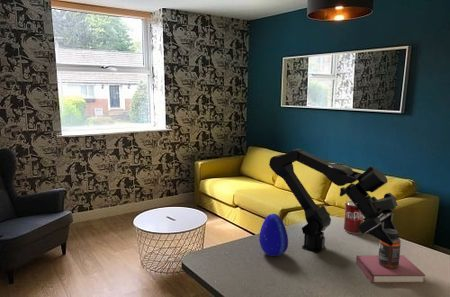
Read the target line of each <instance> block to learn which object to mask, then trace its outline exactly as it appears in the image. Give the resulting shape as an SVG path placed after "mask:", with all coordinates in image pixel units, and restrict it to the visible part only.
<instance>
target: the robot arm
mask: <svg viewBox="0 0 450 297" xmlns="http://www.w3.org/2000/svg"><path fill="white" fill-rule="evenodd" d="M295 162H298V163H300V164H301V165H305V166H306V167H308V168H311V170H314V171H317V172H318V173H321V174H322V175H324V176H325V177H326V178H327V179H328V181H329V182H331V183H332V184H334V185H336V186H337V187H341V188H340V189H339V191H340V192H339V197H343V196H345V195H346V196H347V197H348V198H349V199H350V200H349V201H352V202H353V203H354V205H355V206H356V207H357V208H355V210H356V211H358V210H359V211H360V212H361V214H362V215H363V222H362V223H360V224H359V225H358V230H359V231H360V233H359V234H361V235H363V234H367V235H369V236H371V237H374V238H376V239H378V240H379V241H380V240H381V241H383V242H385V243H386V244H388V245H390V246H391V245H393V242H392V240H391V239H390V237H389V235H388V234H387V232H386V231H385V229H393V230H396V231H397V232H398V230H397V228H396V226H395V224H394V220H393V219H394V218H393V217H394V215H395V214H394V211H395V210H396V207H398V206H399V205H398V202H397V200H398V198H397V197H396V196H395V195H393V194H392V193H391V192H387V193H385V194H383V197H382V198H376V196H374V195H370V194H369V193H374V192H376V191H377V190H379V188H381V187H383V186H385V185H386V184H387V183H388V178H387V176H386V175H385V173H384V172H383V171H381V170H379V169H378V168H376V167H375V166H374V165H370V166H369V167H368V168H367V169H366V170H365V171H363V172H362V173H361V172H359V171H354V170H353V169H352V168H351V167H350V166H346V165H342V164H337V163H331V162H329V161H326V160H324V159H322V158H320V157H318V156H316V155H314V154H312V153H309V152H307V151H304V149H303V148H302V149H301V148H297V149H293V150H291V151H289V152H286V153H283V154H278V155H273V156H272V157H270V159H269V163H268V166H269V168H270V169H271V170H272V172H274V174H276V175H277V176H278V177H280V178H281V179H283V181H284V183H285V184H286V185H287V187H288V188H289V190H290V191H291V193H292V194H293V196H294V197H295V199H296V200H297V202H298V204H299V205H300V206H301V208H302V210H303V211H304V216H305V217H304V218H305V221H306V224H305V225H304V226H303V227H302V228H301V230H302V231H301V232H302V234H304V236H303V237H304V240H303V245H302V246H301V248H302V249H304V250H308V251H311V252H314V253H320V252H321V251H322V250H324V248H326V245H325V243H326V238H325V237H326V236H325V233H324V231H325V230H326V229H327V228H329V227H330V225H331V221H332V218H331V216H330V215H331V214H330V212H328V210H327V208H326V207H325V206H324V205H321V206H319V205H318V204H316V202H315V201H314V199H313V198H312V196H311V195H310V194H309V192H308V191H307V188H306V187H305V186H304V185H303V183H302V182H301V181H300V179H299V177H298V175H297V174H296V173H295V170H294V165H293V163H295ZM355 182H357V183H355ZM348 184H349V185H348ZM345 185H347V186H346V187H345ZM356 203H357V204H356ZM397 237H398V238H399V239H400V235H399V233H398V236H397Z"/></svg>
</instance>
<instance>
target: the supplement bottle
mask: <svg viewBox="0 0 450 297" xmlns="http://www.w3.org/2000/svg"><path fill="white" fill-rule="evenodd" d="M396 230H397V229H396ZM396 230H393V229H385V231H386V232H387V234H388V235H389V237H390V239H391V240H392V242H393V245H391V246H390V245H388V244H386V243H385V242H383V241H381V240H379V245H378V246H379V247H378V255H379V264H380V265H382V266H384V267H387V268H397V267H398V266H399V257H400V255H401V238H400V237H399V238H398V237H397V236H398V234H399V232H398V230H397V231H396Z"/></svg>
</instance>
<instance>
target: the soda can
mask: <svg viewBox="0 0 450 297" xmlns="http://www.w3.org/2000/svg"><path fill="white" fill-rule="evenodd" d="M356 204H357V203H356ZM355 208H357V207H356V206H355V205H354V203H353V202H352V201H351V200H348V201H347V200H346V202H345V206H344V219H343V221H344V222H343V223H344V224H343V230H344V231H345V232H346V233H349V234H352V235H357V234H358V235H359V234H361V233H360V231H359V230H358V225H359V224H360V223H362V222H363V221H364V220H363V219H364V216H363V215H362V214H361V212H360V211H359V210H358V211H356V210H355Z"/></svg>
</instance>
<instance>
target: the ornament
mask: <svg viewBox="0 0 450 297" xmlns="http://www.w3.org/2000/svg"><path fill="white" fill-rule="evenodd" d="M258 237H259V239H258V240H259V246H260V248H261V250H262V251H263V252H264V253H265V254H266V255H267V256H270V257H278V256H281V255H283V254H284V253H286V251H287V250H288V246H289V237H288V232H287V229H286V226H285V224H284V221H283V220H282V218H281V217H280V216H279V215H278V214H276V213H271V214H268V215H267V216H266V217H265V219H264V221H263V222H262V225H261V228H260V230H259V236H258Z"/></svg>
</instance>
